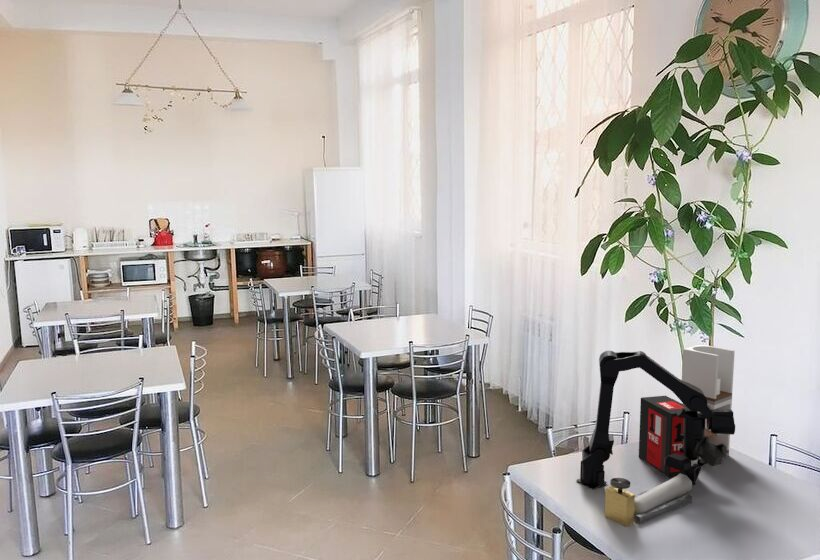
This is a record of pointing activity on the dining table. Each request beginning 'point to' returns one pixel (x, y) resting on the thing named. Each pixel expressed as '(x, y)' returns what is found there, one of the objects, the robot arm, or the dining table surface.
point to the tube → (663, 493)
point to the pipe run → (623, 506)
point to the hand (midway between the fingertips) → (692, 484)
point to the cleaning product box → (660, 432)
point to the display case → (711, 380)
